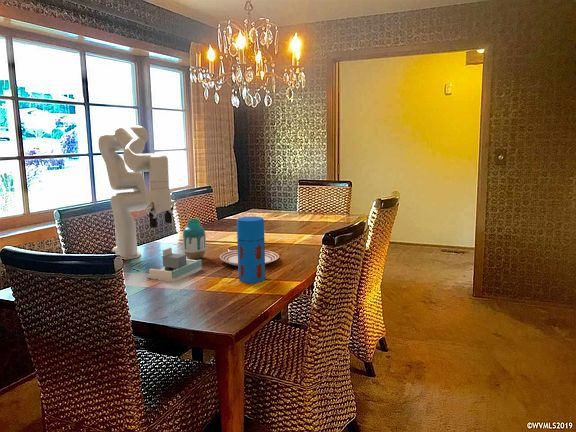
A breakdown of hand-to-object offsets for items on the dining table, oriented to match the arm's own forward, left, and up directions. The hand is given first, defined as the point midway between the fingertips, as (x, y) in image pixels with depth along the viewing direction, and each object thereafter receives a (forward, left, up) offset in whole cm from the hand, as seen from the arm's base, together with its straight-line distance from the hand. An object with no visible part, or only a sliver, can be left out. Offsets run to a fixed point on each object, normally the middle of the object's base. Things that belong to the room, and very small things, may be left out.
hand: (161, 225), depth 195 cm
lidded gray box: (+6, 0, -19) cm, 20 cm away
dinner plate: (+26, +29, -21) cm, 44 cm away
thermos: (+40, +6, -21) cm, 46 cm away
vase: (-1, +24, -21) cm, 32 cm away
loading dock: (+6, 0, -21) cm, 22 cm away
